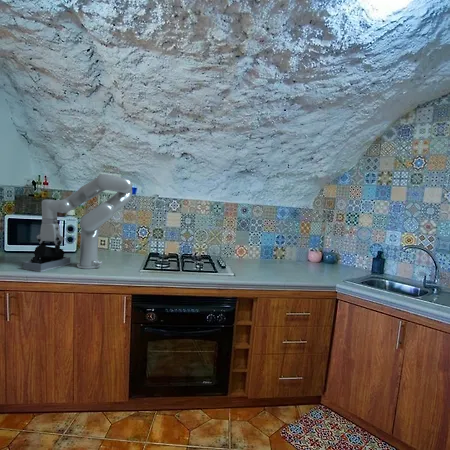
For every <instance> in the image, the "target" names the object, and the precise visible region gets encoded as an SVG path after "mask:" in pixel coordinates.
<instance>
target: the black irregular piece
mask: <svg viewBox="0 0 450 450" xmlns="http://www.w3.org/2000/svg"><path fill="white" fill-rule="evenodd" d="M34 248H35V249H34V253H33V254H34V256H33V257H32V259H30V261H32V263H39V262H38V261H42V263H41V264H43V263H47V262H51V260H60V259H63V257H65V252H64V248H60V252H55V247H52V246H47V245H46V246H43V245H40V244H38V245H37V246H36V247H34ZM40 258H41V259H40Z"/></svg>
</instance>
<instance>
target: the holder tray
mask: <svg viewBox="0 0 450 450" xmlns="http://www.w3.org/2000/svg"><path fill="white" fill-rule="evenodd" d="M40 259H41V258H40ZM38 262H39V263H32V261H31V260H27V261H23V270H26V271H33V272H39V273H42V272H46V271H50V270H52V269H57V268H60V267H64V266H68V265H70V264H71V257H69V256H63V259H60V260H51V262H47V263H43V264H41V263H42V261H38Z"/></svg>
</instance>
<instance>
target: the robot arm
mask: <svg viewBox="0 0 450 450" xmlns="http://www.w3.org/2000/svg"><path fill="white" fill-rule="evenodd" d="M105 191H111V192H116V193H115V194H114V195H113V196H111V197H110V198H108V199H107V200H105V201H103V202H102V203H100V204H99V205H97V206H96V207H95V208H93V209H92V210H90V211H89V212H87V213H86V214H84V215H83V216H82V217H81V218H80V220H79V226H80V229H81V230H80V247H79V252H80V253H79V263H77V264H76V267H77V268H79V269H89V270H90V269H92V270H93V269H97V268H100V267H101V266H102V265H103V261H100V258H98V257H99V256H98V251H99V231H100V227H101V226H102V225H103V224H105V223H106V222H108V221H109V220H110V219H112V217H113V216H114V214H116V213H117V212H118V211H119V210H121V209H122V208H123V207H125V206H126V205H127V204H128V203H129V202H130V200H131V198H132V196H133V183H132V181H131V180H130V179H129V178H125V177H119V176H114V175H109V174H105V173H103V174H99V175H98V176H97V177H96V178H94V179H92V180H90V181H89V182H87V183H85V184H84V185H83V186H81V187H79V188H78V190H76V191H75V192H74V193H72V194H70V195H69V196H67V197H65V198H63V199H56V200H55V199H43V200H41V225H40V230H39V231H40V232H39V234H38V235H36V239H37V241H38V243H39V244H38V245H43V246H47V245H46V242H52V243H53V244H55V245H54V248H55V252H60V249H61V245H62V244H63V241H64V239H65V238H64V237H63V236H62V235H61V230H60V225H59V223H58V222H59V219H58V213H61V214H67V213H68V212H71V211H72V210H73V209H76V208H77V207H79V206H81V205H82V204H84V203H85V202H88V201H90V200H92V199H94V198H95V197H97V196H98V195H100V194H102V193H103V192H105Z"/></svg>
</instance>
